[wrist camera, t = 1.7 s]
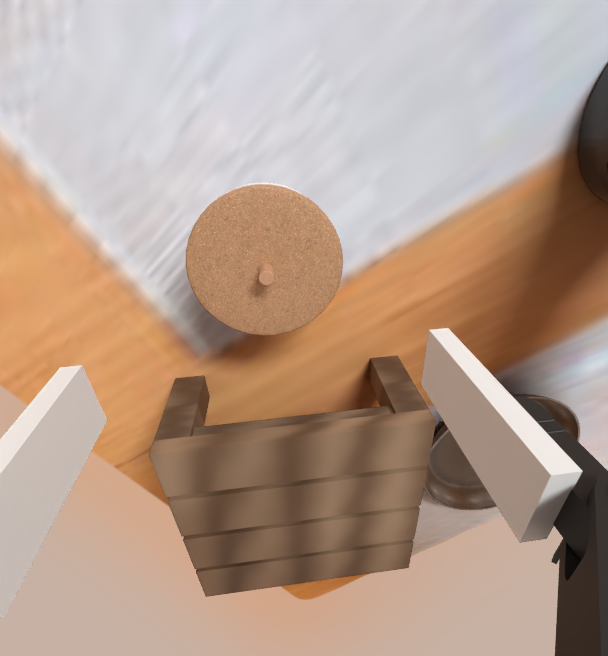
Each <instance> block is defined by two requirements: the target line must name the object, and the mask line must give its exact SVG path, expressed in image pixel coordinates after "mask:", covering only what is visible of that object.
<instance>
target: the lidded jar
mask: <svg viewBox="0 0 608 656" xmlns="http://www.w3.org/2000/svg"><path fill="white" fill-rule="evenodd" d="M342 267H343V257H342V249H341V244H340V240H339V237H338V235H337V233H336V230H335V228H334V226H333V225H332V223H331V222H330V220H329V219H328V217H327V216H326V215H325V213H324V212H323V211H322V210H321V209H320V208H319V207H318V206H317V205H316V204H315V203H314V202H312V201H311V200H310V199H309V198H307V197H306V196H304V195H303V194H301V193H299V192H298V191H296V190H294V189H292V188H289V187H287V186H284V185H280V184H275V183H263V182H258V183H251V184H245V185H242V186H239V187H236V188H234V189H232V190H230V191H228V192H227V193H225V194H223V195H222V196H221V197H219V198H218V199H217V200H215V201H214V202H213V203H212V204H210V205H209V206H208V207H207V209H206V210H205V211H204V212H203V213H202V214H201V215H200V217H199V219H198V220H197V222H196V224H195V225H194V227H193V229H192V232H191V234H190V237H189V240H188V245H187V250H186V268H187V275H188V278H189V281H190V284H191V287H192V289H193V291H194V293H195V295H196V297H197V298H198V300H199V301H200V303H201V304H202V305H203V307H204V308H205V309H206V310H207V311H208V312H209V313H210V314H211V315H212V316H214V317H215V318H216V319H217V320H219V321H220V322H222V323H224V324H225V325H227V326H229V327H231V328H233V329H236V330H238V331H241V332H245V333H249V334H255V335H276V334H283V333H287V332H290V331H293V330H296V329H298V328H300V327H302V326H305V325H306V324H308V323H309V322H311V321H312V320H314V319H315V318H316V317H317V316H318V315H320V314H321V313H322V312H323V311H324V309H325V308H326V307H327V306H328V305H329V303H330V302H331V300H332V299H333V297H334V295H335V293H336V291H337V289H338V286H339V283H340V279H341V275H342Z"/></svg>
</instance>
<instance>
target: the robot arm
mask: <svg viewBox="0 0 608 656" xmlns="http://www.w3.org/2000/svg"><path fill="white" fill-rule="evenodd" d="M579 163H580V168H581V172H582V175H583V178H584V180H585V182H586V184H587V185H588V187H589V188H590V190H591V191H592V192H593V193H594V194H595V195H596V196H598V197H599V198H601V199H602V200H604V201H606V202H608V65H607V67H606V69H605V70H604V72H603V74H602V75H601V77H600V79H599V81H598V83H597V85H596V87H595V89H594V91H593V93H592V95H591V97H590V100H589V102H588V105H587V108H586V111H585V114H584V117H583V121H582V125H581V130H580V137H579ZM421 386H422V387H423V389H424V391H425V392H426V394H427V395H428V397H429V398H430V400H431V402H432V403H433V405H434V406H435V408H436V410H437V411H438V413H439V414H440V416H441V418H442V419H443V421H444V422H445V424H446V426H447V427H448V429H449V430H450V432H451V434H452V435H453V437H454V438H455V440H456V442H457V443H458V445H459V446H460V448H461V450H462V451H463V453H464V454H465V456H466V458H467V459H468V461H469V462H470V464H471V466H472V467H473V469H474V470H475V472H476V474H477V475H478V477H479V478H480V480H481V482H482V483H483V485H484V486H485V488H486V490H487V491H488V493H489V494H490V496H491V498H492V499H493V501H494V502H495V504H496V506H497V507H498V509H499V510H500V512H501V514H502V515H503V517H504V518H505V520H506V521H507V523H508V525H509V526H510V528H511V529H512V531H513V533H514V534H515V536H516V537H517V539H518V541H519V542H520V543H521V542H527V541H534V540H541V539H547V537H548V535H549V534H550V532H551V530H552V528H553V526H555V527H556V529H557V530H558V531H559V533H560V534H561V535H562V537H563V540H562V542H561V543H560V545H559V547H558V549H557V550H556V552H555V554H554V556H553V559H552V562H553V563H555V564H557V562H558V560H559V559H560V563H559V585H558V604H557V605H558V607H557V624H556V646H555V656H608V471H607V470H606V469H605V468H604V467H603V466H602V465H601V464H600V463H599V462H598V461H597V460H596V459H595V458H594V457H593V456H592V455H591V454H590V453H589V452H588V451H587V450H586V449H585V448H584V447H583V446H582V445H581V444H580V443H579V442H578V441H577V440H576V439H575V438H574V437H573V436H572V435H571V434H570V433H569V432H566V431H565V428H564V427H563V426H562V425H561V424H560V423H559V422H558V421H555V419H554V418H553V417H552V416H551V415H550V414H549V413H548V412H547V411H546V410H545V409H544V408H543V407H542V406H541V405H539V404H538V403H536V402H534V401H533V400H531V399H529V398H528V397H526V396H518V397H513V396H512V395H511V394H510V393H509V392H508V391H507V390H506V389H505V388H504V387H503V386H502V385H501V384H500V383H499V382H498V381H497V379H496V378H495V377H494V376H493V375H492V374H491V373H490V372H489V371H488V370H487V369H486V368H485V367H484V366H483V365H482V364H481V362H480V361H479V360H478V359H477V358H476V357H475V356H474V355H473V354H472V353H471V352H470V351H469V350H468V349H467V348H466V346H465V345H464V344H463V343H462V342H461V341H460V340H459V339H458V338H457V337H456V336H455V335H454V334H453V333H452V332H451V331H450V329H449V328H443V329H433V330H429V335H428V341H427V348H426V355H425V361H424V368H423V375H422V381H421ZM106 422H107V419H106V417H105V414H104V412H103V410H102V408H101V406H100V403H99V401H98V399H97V397H96V395H95V393H94V390H93V388H92V386H91V384H90V382H89V379H88V377H87V375H86V373H85V371H84V369H83V366H82V365H80V366H71V367H61V368H59V370H58V371H57V372H56V373H55V374H54V376H53V377H52V378H51V379H50V380H49V382H48V383H47V384H46V385H45V386H44V388H43V389H42V390H41V391H40V392H39V394H38V395H37V396H36V397H35V398H34V400H33V401H32V402H31V403H30V404H29V406H28V407H27V408H26V409H25V411H24V412H23V413H22V414H21V415H20V416H19V418H18V419H17V420H16V421H15V422H14V424H13V425H12V426H11V427H10V429H9V430H8V431H7V432H6V433H5V434H4V436H3V437H2V438H1V439H0V619H3V618H4V616H5V615H6V613H7V611H8V609H9V607H10V605H11V603H12V601H13V600H14V598H15V595H16V594H17V592H18V590H19V588H20V586H21V584H22V582H23V580H24V579H25V577H26V575H27V573H28V571H29V569H30V567H31V565H32V563H33V561H34V559H35V557H36V556H37V554H38V552H39V550H40V548H41V546H42V544H43V542H44V540H45V538H46V536H47V535H48V533H49V531H50V529H51V527H52V524H53V523H54V521H55V519H56V517H57V515H58V514H59V512H60V510H61V508H62V506H63V504H64V502H65V500H66V498H67V496H68V494H69V492H70V490H71V489H72V487H73V485H74V483H75V481H76V479H77V477H78V475H79V473H80V471H81V469H82V468H83V466H84V464H85V462H86V460H87V458H88V456H89V454H90V452H91V450H92V449H93V447H94V445H95V443H96V441H97V439H98V437H99V435H100V433H101V431H102V429H103V427H104V426H105V424H106Z"/></svg>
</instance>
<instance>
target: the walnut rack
mask: <svg viewBox="0 0 608 656" xmlns="http://www.w3.org/2000/svg"><path fill="white" fill-rule="evenodd" d="M369 380H370V383H371V385H372V387H373V390H374V392H375V395H376V397H377V399H378V402H379V404H380V406H381V407H375V408H366V409H357V410H348V411H339V412H330V413H322V414H313V415H304V416H295V417H286V418H277V419H268V420H259V421H250V422H241V423H232V424H223V425H214V426H205V427H204V423H205V418H206V413H207V408H208V402H209V393H208V389H207V385H206V381H205V376H195V377H185V378H176V379H175V382H174V384H173V387H172V390H171V393H170V396H169V399H168V402H167V405H166V407H165V410H164V413H163V416H162V419H161V422H160V425H159V428H158V430H157V433H156V436H155V439H154V442H153V445H152V448H151V451H150V453H149V456H150V459H151V461H152V464H153V466H154V469H155V471H156V474H157V476H158V479H159V481H160V484H161V486H162V489H163V491H164V494H165V496H166V497H169V499H168V504H169V506H170V509H171V511H172V514H173V516H174V518H175V521H176V523H177V526H178V528H179V531H180V533H181V536H184V539H183V541H184V543H185V546H186V548H187V551H188V553H189V556H190V558H191V561H192V563H193V566H194V568H195V569H197V570H196V573H197V575H198V578H199V581H200V583H201V586H202V588H203V591H204V593H205V595H206V597H207V596H214V595H221V594H228V593H235V592H242V591H248V590H256V589H263V588H270V587H277V586H284V585H291V584H298V583H305V582H312V581H319V580H326V579H333V578H340V577H347V576H354V575H361V574H369V573H375V572H383V571H390V570H397V569H404V568H408V567H409V563H410V557H411V552H412V547H413V540H412V539H414V536H415V531H416V526H417V521H418V515H419V510H420V508H419V506H418V505H421V500H422V494H423V489H424V484H425V479H426V473H427V468H426V466H425V465H428V463H429V458H430V452H431V447H432V442H433V437H434V431H435V426H436V420H435V419H434V417H433V415H432V413H431V412H430V410H429V408H428V407H427V405H426V403H425V402H424V400H423V398H422V397H421V395H420V393H419V392H418V390H417V388H416V386H415V385H414V383H413V381H412V380H411V378H410V376H409V375H408V373H407V371H406V370H405V368H404V366H403V364H402V363H401V361H400V359H399V358H398V356H389V357H380V358H371V359H370V377H369Z"/></svg>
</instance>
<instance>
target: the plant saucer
mask: <svg viewBox="0 0 608 656" xmlns="http://www.w3.org/2000/svg"><path fill="white" fill-rule="evenodd" d="M512 396H513V397H518V396H526V397H528V398H529V399H531V400H533V401H534V402H536V403H538V404H539V405H541V406H542V407H543V408H544V409H545V410H546V411H547V412H548V413H549V414H550V415H551V416H552V417H553V418H554V419H555V421H558V422H559V423H560V424H561V425H562V426H563V427H564V428H565V431H566V432H569V433H570V434H571V435H572V436H573V437H574V438H575V439H576V440H577V441H578V442H579V438H580V425H579V421H578V418H577V416H576V415H575V413H574V412H573V411H572V410H571V409H570V408H569V407H568V406H567V405H565V404H563V403H562V402H559V401H557V400H554V399H551V398H547V397H542V396H536V395H526V394H514V395H512ZM425 466H426V468H427V473H426V479H425V484H424V488H425V490H426V492H427V493H428V495H429V496H430V497H431V498H432V499H433V500H435V501H436V502H438V503H440V504H442V505H444V506H446V507H449V508H453V509H459V510H482V509H488V508H493V507H497V506H496V504H495V502H494V501H493V499H492V498H491V496H490V494H489V493H488V491H487V490H486V488H485V486H484V485H483V483H482V482H481V480H480V478H479V477H478V475H477V474H476V472H475V470H474V469H473V467H472V466H471V464H470V462H469V461H468V459H467V458H466V456H465V454H464V453H463V451H462V450H461V448H460V446H459V445H458V443H457V442H456V440H455V438H454V437H453V435H452V434H451V432H450V430H449V429H448V427H447V426H446V424H444V425H443V426H442V428H441V429H440V430H439V431H438V432H437V434H436V435H435V437H434V438H433V442H432V447H431V452H430V458H429V463H428V465H425Z"/></svg>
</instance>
